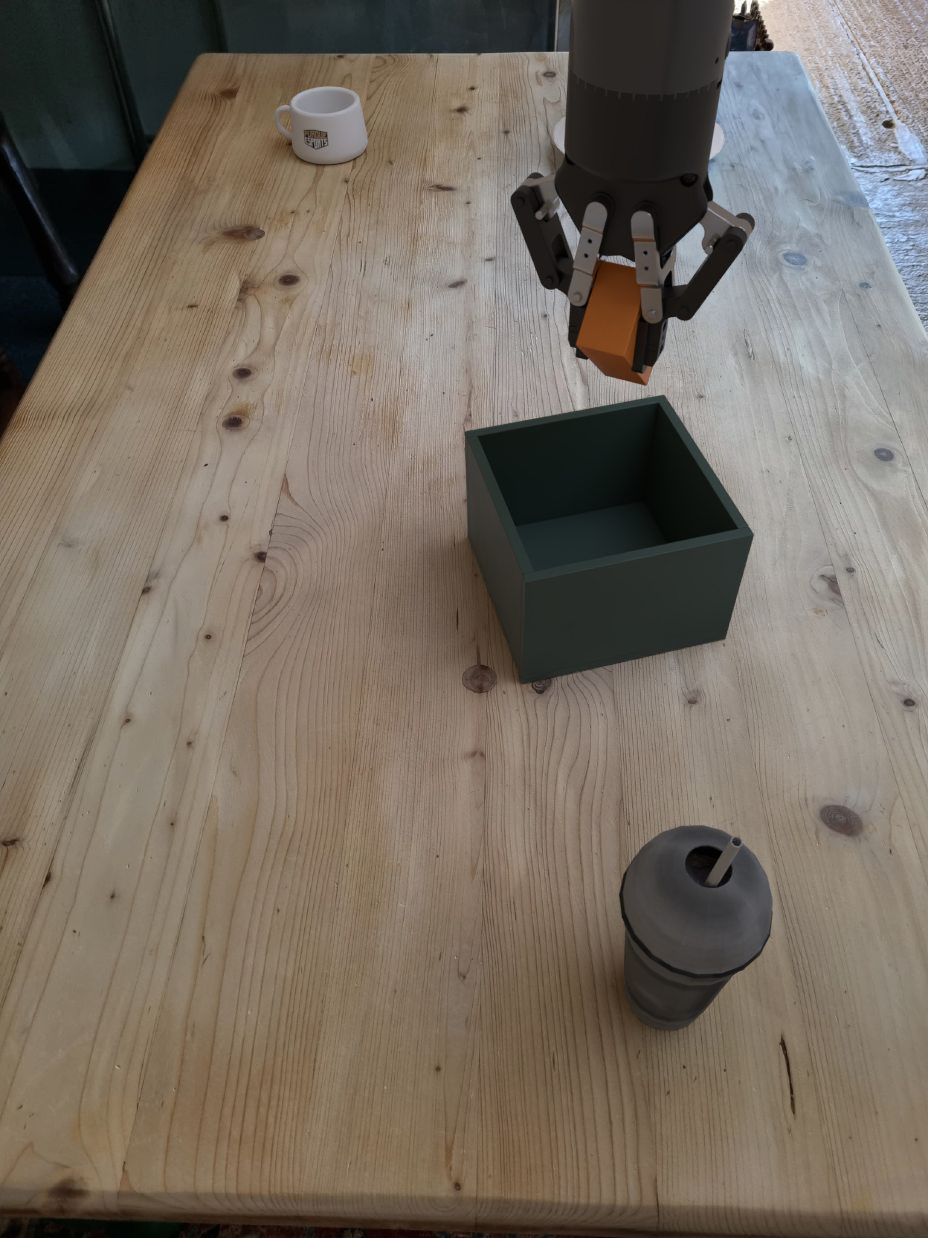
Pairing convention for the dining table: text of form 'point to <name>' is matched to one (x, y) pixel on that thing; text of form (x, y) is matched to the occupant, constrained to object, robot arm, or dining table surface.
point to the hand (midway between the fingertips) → (614, 357)
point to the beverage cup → (690, 921)
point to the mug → (325, 125)
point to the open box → (602, 536)
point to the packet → (613, 323)
